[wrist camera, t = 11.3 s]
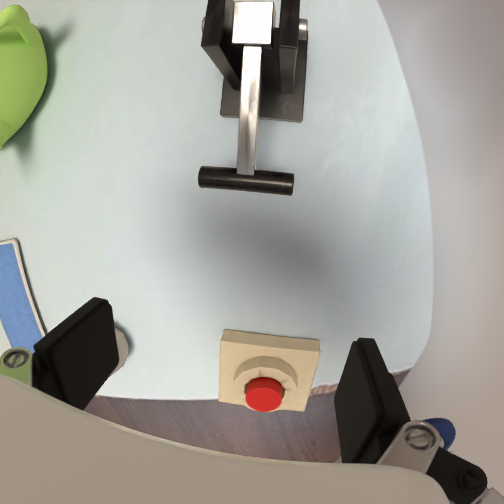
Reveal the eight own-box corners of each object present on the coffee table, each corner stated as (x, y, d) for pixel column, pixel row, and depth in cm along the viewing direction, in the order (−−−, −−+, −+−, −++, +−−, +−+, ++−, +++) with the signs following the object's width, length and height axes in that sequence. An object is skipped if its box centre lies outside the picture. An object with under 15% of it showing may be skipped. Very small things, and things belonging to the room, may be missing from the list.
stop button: (284, 378, 27) (284, 389, 26) (279, 402, 28) (279, 413, 27) (248, 374, 28) (246, 385, 26) (246, 398, 29) (244, 409, 27)
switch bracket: (301, 122, 24) (314, 90, 13) (222, 117, 24) (177, 85, 13) (307, 35, 21) (318, -37, 10) (231, 31, 22) (199, -38, 11)
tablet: (-18, 245, 32) (-24, 247, 31) (19, 237, 31) (12, 239, 29) (17, 349, 38) (13, 352, 36) (59, 358, 36) (55, 363, 35)
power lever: (291, 189, 20) (292, 202, 18) (205, 181, 20) (195, 193, 18) (306, 14, 13) (308, 4, 11) (211, 11, 14) (200, 2, 12)
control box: (318, 339, 30) (322, 362, 26) (303, 398, 32) (304, 422, 29) (224, 329, 31) (216, 350, 27) (222, 389, 33) (215, 411, 29)
